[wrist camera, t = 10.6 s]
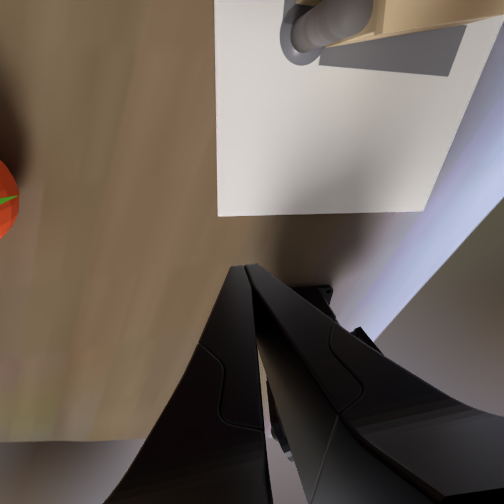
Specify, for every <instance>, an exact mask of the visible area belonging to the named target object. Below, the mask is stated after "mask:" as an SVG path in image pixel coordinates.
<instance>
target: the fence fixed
mask: <svg viewBox="0 0 504 504" xmlns="http://www.w3.org/2000/svg"><path fill="white" fill-rule="evenodd" d="M295 4H300V5H308V6H315V7H314V8H313V9H311V10H310V11H308V12H307V13H306V14H304V15H303V16H301V17H300V18H299V19H297V20H296V21H295V23H294V24H293V26H292V29H291V33H290V39H291V43H292V46H293V47H294V49H295V50H296V51H298V52H300V53H306V52H308V51H311V50H314V49H317V48H320V47H322V46H325V45H328V44H331V43H333V42H336V41H339V40H342V39H345V38H347V37H350V36H353V35H356V34H358V33H359V32H361V31H362V30H363V29H364V28H365V26H366V25H367V23H368V22H369V20H370V17H371V14H372V10H373V0H296V3H295Z"/></svg>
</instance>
